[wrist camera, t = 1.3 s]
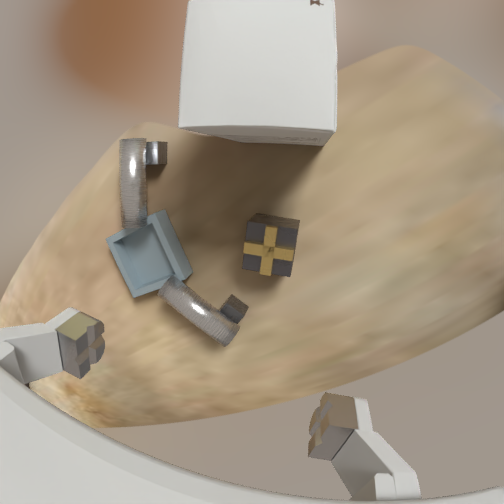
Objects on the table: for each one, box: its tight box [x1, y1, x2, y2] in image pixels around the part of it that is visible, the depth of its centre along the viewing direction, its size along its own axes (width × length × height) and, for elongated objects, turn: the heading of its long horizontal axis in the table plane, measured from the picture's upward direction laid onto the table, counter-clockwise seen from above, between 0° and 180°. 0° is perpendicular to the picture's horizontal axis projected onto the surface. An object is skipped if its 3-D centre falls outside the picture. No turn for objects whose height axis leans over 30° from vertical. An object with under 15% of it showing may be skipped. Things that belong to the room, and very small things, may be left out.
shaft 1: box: [120, 138, 167, 228], centre depth 30 cm, size 9×4×5 cm, turn 178°
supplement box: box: [178, 0, 337, 146], centre depth 21 cm, size 9×9×15 cm
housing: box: [106, 209, 193, 298], centre depth 34 cm, size 8×8×2 cm
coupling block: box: [242, 213, 300, 277], centre depth 29 cm, size 4×4×5 cm
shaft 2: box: [157, 275, 248, 347], centre depth 33 cm, size 9×4×5 cm, turn 53°
